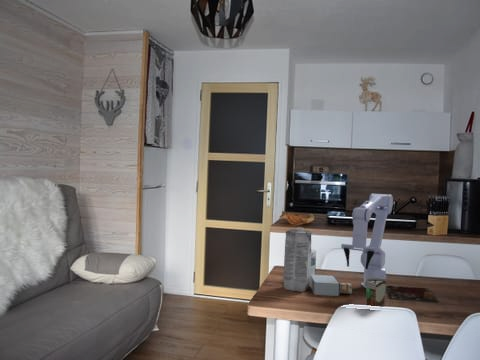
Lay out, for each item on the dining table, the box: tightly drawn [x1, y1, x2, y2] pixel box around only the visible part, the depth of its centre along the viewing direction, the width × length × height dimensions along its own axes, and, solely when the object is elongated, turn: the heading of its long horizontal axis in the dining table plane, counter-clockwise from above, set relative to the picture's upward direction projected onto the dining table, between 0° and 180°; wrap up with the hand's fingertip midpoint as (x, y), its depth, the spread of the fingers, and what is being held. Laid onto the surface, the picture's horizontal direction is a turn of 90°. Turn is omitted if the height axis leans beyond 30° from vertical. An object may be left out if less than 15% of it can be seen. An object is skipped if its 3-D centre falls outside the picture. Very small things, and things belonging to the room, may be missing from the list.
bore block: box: [309, 274, 341, 297], centre depth 179 cm, size 10×14×5 cm
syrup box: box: [309, 249, 317, 283], centre depth 198 cm, size 6×6×14 cm
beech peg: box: [339, 282, 353, 294], centre depth 176 cm, size 10×4×4 cm, turn 88°
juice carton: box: [283, 227, 312, 293], centre depth 180 cm, size 9×10×27 cm
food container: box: [365, 278, 388, 307], centre depth 161 cm, size 12×6×10 cm, turn 141°
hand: (357, 267), depth 175 cm, fingers open, 7 cm apart
